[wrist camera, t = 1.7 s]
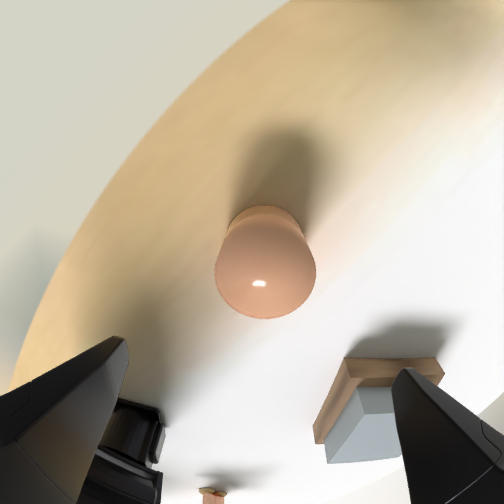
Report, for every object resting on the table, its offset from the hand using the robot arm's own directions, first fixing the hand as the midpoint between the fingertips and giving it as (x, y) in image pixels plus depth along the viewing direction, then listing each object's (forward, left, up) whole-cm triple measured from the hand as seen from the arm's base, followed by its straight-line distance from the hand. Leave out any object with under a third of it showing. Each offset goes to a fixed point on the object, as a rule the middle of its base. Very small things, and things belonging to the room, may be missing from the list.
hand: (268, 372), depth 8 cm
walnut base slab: (+13, -14, -12) cm, 23 cm away
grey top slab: (+13, -14, -9) cm, 21 cm away
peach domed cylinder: (0, 0, -12) cm, 12 cm away
